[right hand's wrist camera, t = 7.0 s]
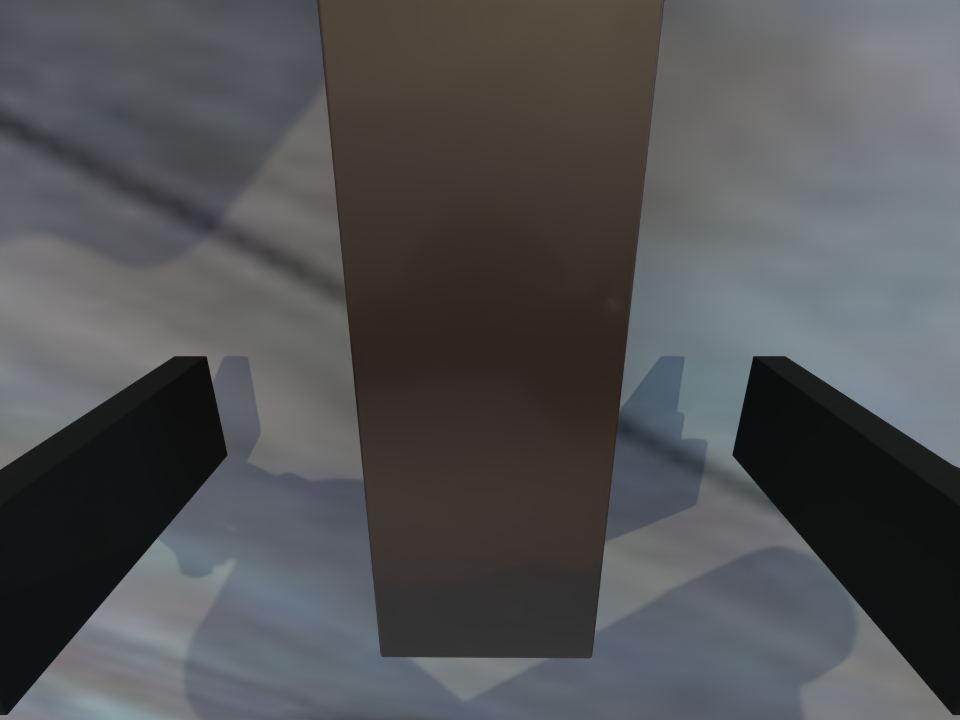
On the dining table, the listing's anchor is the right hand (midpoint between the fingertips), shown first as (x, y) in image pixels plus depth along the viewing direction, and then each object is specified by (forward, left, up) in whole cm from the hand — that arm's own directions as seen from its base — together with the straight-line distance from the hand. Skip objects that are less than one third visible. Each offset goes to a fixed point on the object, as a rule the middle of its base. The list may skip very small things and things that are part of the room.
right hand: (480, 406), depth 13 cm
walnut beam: (+11, 0, -4) cm, 11 cm away
